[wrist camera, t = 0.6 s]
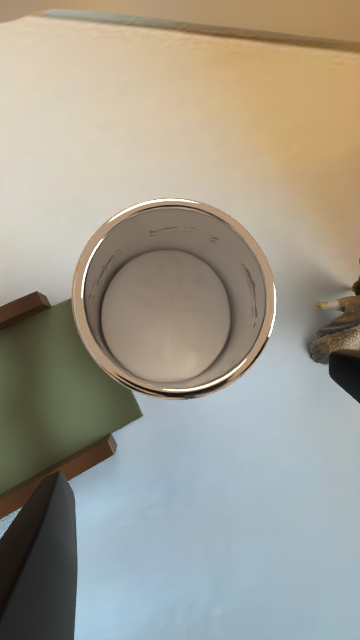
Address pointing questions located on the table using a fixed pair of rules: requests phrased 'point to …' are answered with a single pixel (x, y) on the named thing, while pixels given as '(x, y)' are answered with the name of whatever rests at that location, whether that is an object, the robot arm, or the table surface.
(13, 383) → the dock
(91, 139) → the table surface
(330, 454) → the table surface
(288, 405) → the table surface
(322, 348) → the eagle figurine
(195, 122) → the table surface
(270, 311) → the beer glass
